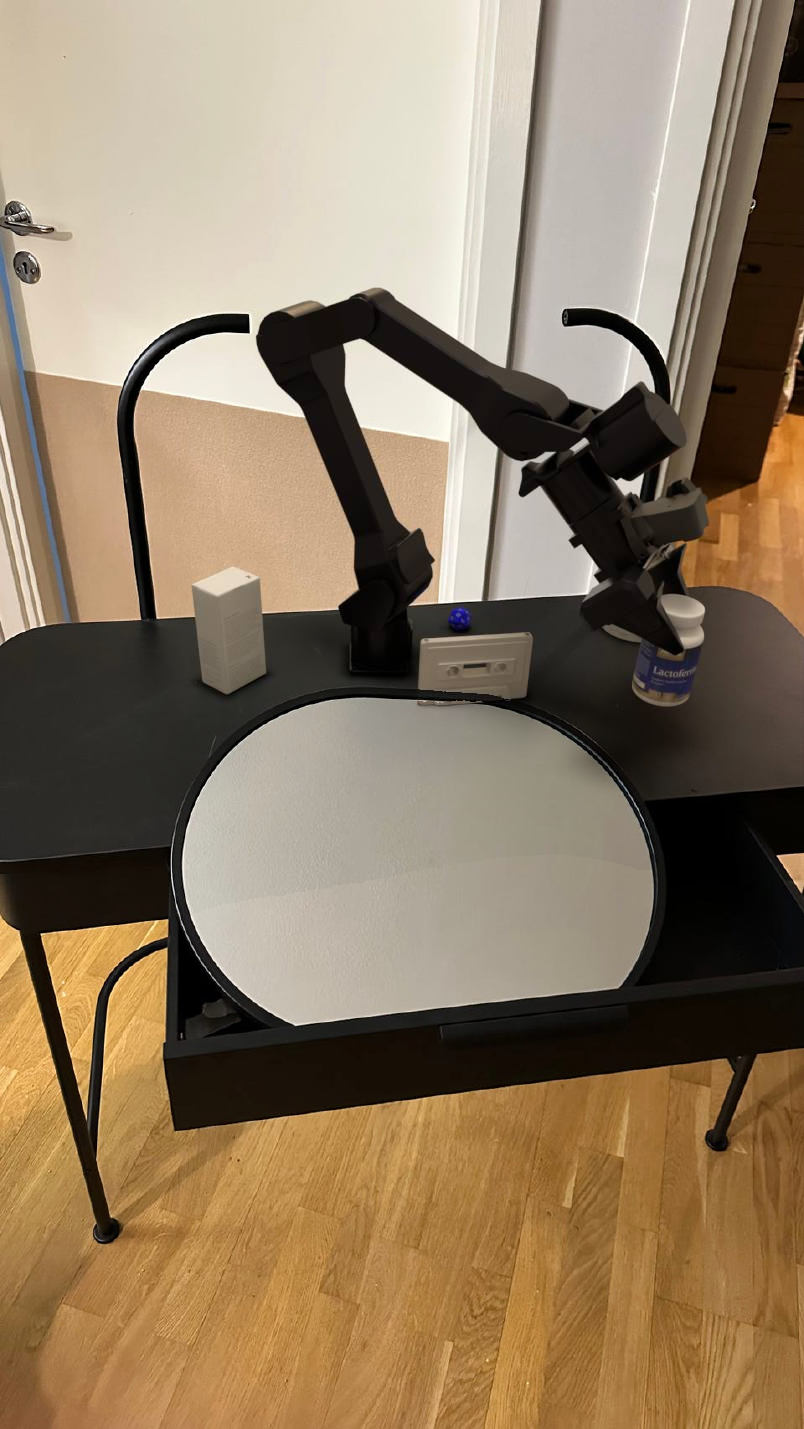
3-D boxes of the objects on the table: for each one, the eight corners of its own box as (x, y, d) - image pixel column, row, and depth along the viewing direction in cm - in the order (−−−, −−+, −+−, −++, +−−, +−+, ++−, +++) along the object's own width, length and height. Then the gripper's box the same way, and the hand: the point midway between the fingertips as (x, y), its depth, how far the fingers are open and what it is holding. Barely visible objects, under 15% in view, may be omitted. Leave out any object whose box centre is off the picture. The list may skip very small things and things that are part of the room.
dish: (607, 642, 117) (611, 624, 116) (593, 608, 125) (595, 590, 123) (680, 643, 118) (684, 624, 116) (661, 608, 125) (664, 591, 124)
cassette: (523, 690, 108) (530, 629, 104) (527, 700, 106) (535, 638, 102) (415, 698, 106) (418, 636, 102) (419, 708, 104) (422, 645, 100)
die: (466, 636, 118) (452, 619, 116) (453, 634, 120) (439, 617, 119) (479, 620, 119) (466, 602, 117) (466, 618, 121) (453, 601, 119)
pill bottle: (647, 711, 95) (667, 621, 90) (621, 681, 100) (638, 593, 94) (700, 705, 97) (722, 615, 91) (671, 675, 101) (691, 588, 96)
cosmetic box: (240, 661, 111) (233, 564, 104) (267, 674, 109) (261, 576, 102) (199, 682, 107) (189, 583, 101) (226, 696, 105) (218, 596, 98)
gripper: (638, 492, 79) (744, 645, 82) (688, 430, 94) (777, 562, 96) (535, 560, 87) (635, 698, 89) (596, 492, 101) (681, 613, 103)
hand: (687, 639), depth 94 cm, fingers closed on pill bottle, 6 cm apart
